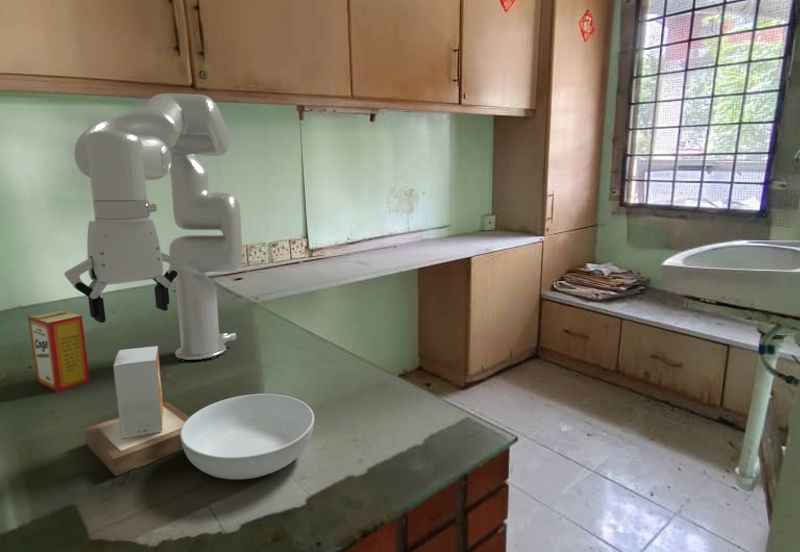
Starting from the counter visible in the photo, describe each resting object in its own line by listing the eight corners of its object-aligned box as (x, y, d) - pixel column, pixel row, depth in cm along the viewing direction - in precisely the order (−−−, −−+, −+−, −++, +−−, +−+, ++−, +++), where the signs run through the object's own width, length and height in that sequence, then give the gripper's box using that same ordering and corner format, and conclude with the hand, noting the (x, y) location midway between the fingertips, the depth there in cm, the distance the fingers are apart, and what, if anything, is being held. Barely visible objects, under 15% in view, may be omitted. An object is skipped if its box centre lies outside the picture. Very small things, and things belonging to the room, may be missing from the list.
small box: (163, 432, 81) (156, 359, 79) (120, 440, 79) (111, 365, 76) (164, 411, 88) (158, 344, 86) (125, 418, 86) (117, 349, 83)
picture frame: (168, 415, 94) (167, 400, 93) (202, 441, 84) (201, 424, 84) (86, 444, 83) (84, 427, 83) (115, 476, 74) (113, 458, 74)
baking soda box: (89, 381, 109) (81, 314, 106) (57, 392, 104) (48, 321, 101) (68, 373, 114) (60, 308, 111) (37, 382, 109) (27, 314, 106)
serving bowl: (182, 514, 66) (178, 469, 65) (184, 440, 85) (181, 404, 84) (329, 479, 74) (328, 438, 73) (300, 419, 93) (299, 386, 92)
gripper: (166, 209, 85) (174, 301, 89) (50, 213, 72) (64, 321, 76) (186, 210, 80) (193, 309, 84) (65, 215, 68) (79, 331, 71)
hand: (132, 314), depth 80 cm, fingers open, 9 cm apart
